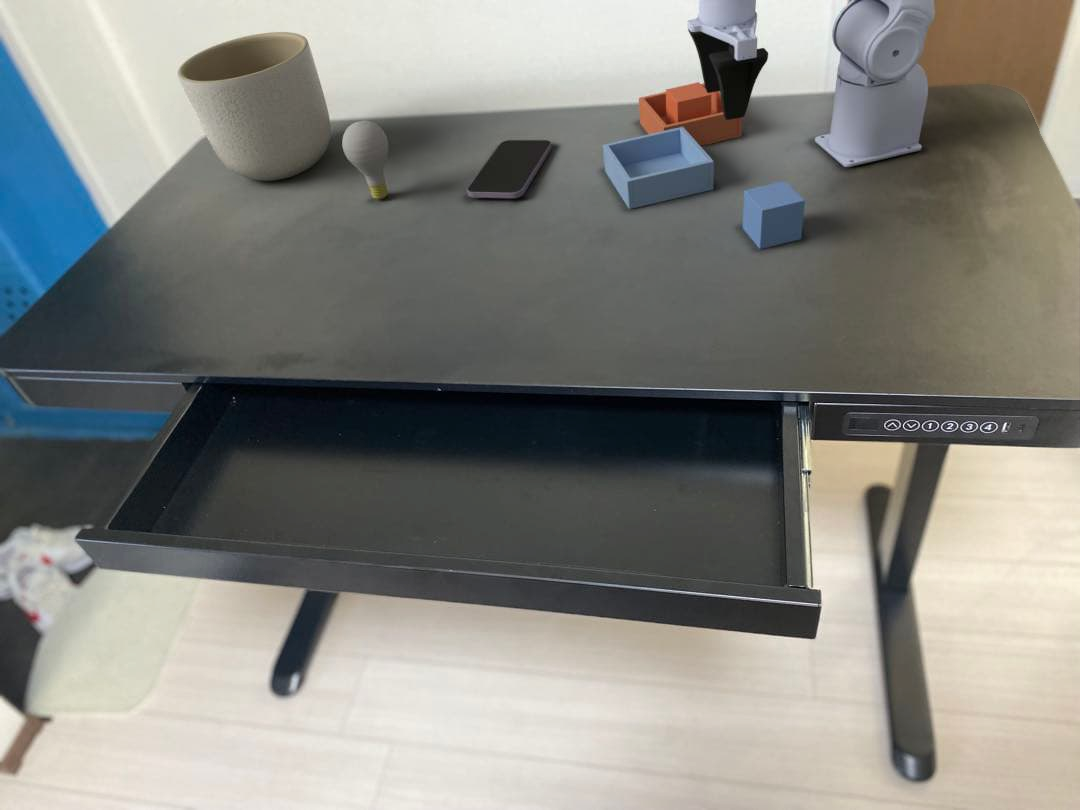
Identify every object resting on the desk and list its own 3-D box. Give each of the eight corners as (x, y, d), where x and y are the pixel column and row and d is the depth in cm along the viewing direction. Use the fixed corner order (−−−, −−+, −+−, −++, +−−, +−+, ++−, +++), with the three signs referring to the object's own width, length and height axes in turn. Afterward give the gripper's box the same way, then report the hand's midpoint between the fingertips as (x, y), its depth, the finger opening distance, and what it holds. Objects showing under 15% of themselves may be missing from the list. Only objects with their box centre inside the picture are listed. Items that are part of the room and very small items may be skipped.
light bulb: (410, 189, 102) (389, 114, 95) (387, 211, 98) (364, 134, 92) (375, 186, 104) (353, 111, 97) (352, 206, 101) (327, 131, 94)
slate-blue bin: (683, 153, 99) (683, 126, 97) (713, 189, 91) (714, 161, 89) (604, 171, 98) (602, 144, 96) (629, 209, 91) (627, 181, 88)
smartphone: (553, 139, 105) (520, 193, 95) (554, 147, 106) (521, 201, 95) (502, 139, 107) (463, 192, 97) (503, 147, 108) (465, 200, 97)
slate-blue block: (782, 218, 85) (785, 180, 82) (801, 239, 82) (805, 200, 79) (742, 228, 85) (744, 190, 82) (759, 249, 81) (762, 210, 78)
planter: (304, 196, 104) (261, 81, 94) (200, 192, 110) (149, 82, 100) (363, 138, 116) (331, 29, 105) (267, 136, 121) (227, 33, 111)
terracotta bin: (711, 106, 108) (712, 81, 105) (741, 136, 100) (742, 109, 98) (639, 123, 107) (638, 97, 105) (664, 154, 99) (663, 127, 97)
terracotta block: (698, 115, 105) (698, 81, 102) (711, 128, 102) (711, 94, 99) (666, 123, 105) (665, 89, 102) (677, 136, 101) (677, 102, 98)
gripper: (672, -42, 85) (674, 85, 94) (707, -2, 74) (706, 136, 83) (737, -53, 84) (733, 75, 94) (781, -16, 74) (772, 125, 83)
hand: (724, 103), depth 88 cm, fingers open, 7 cm apart
